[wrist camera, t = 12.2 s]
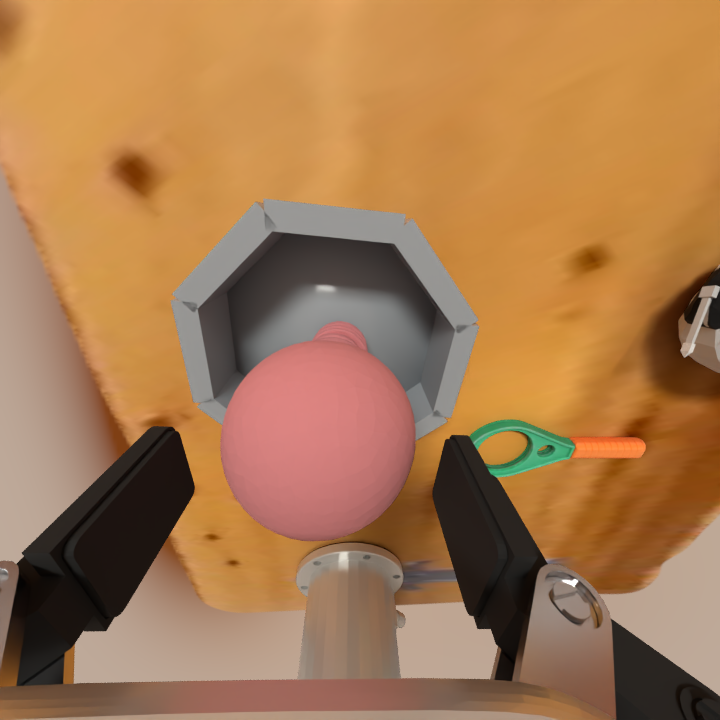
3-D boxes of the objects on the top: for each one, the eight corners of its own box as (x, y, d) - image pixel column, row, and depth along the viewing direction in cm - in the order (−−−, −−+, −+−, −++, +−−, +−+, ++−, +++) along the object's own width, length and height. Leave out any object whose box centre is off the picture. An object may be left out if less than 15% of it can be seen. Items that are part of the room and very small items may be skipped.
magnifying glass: (456, 467, 26) (463, 483, 24) (467, 417, 23) (475, 431, 22) (612, 463, 26) (628, 477, 25) (641, 413, 23) (661, 426, 22)
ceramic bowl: (483, 347, 20) (517, 379, 16) (327, 450, 24) (322, 497, 20) (343, 140, 14) (340, 107, 10) (171, 323, 18) (119, 351, 14)
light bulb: (288, 389, 20) (204, 587, 9) (278, 290, 16) (131, 411, 6) (385, 392, 20) (420, 589, 9) (394, 294, 17) (464, 418, 6)
